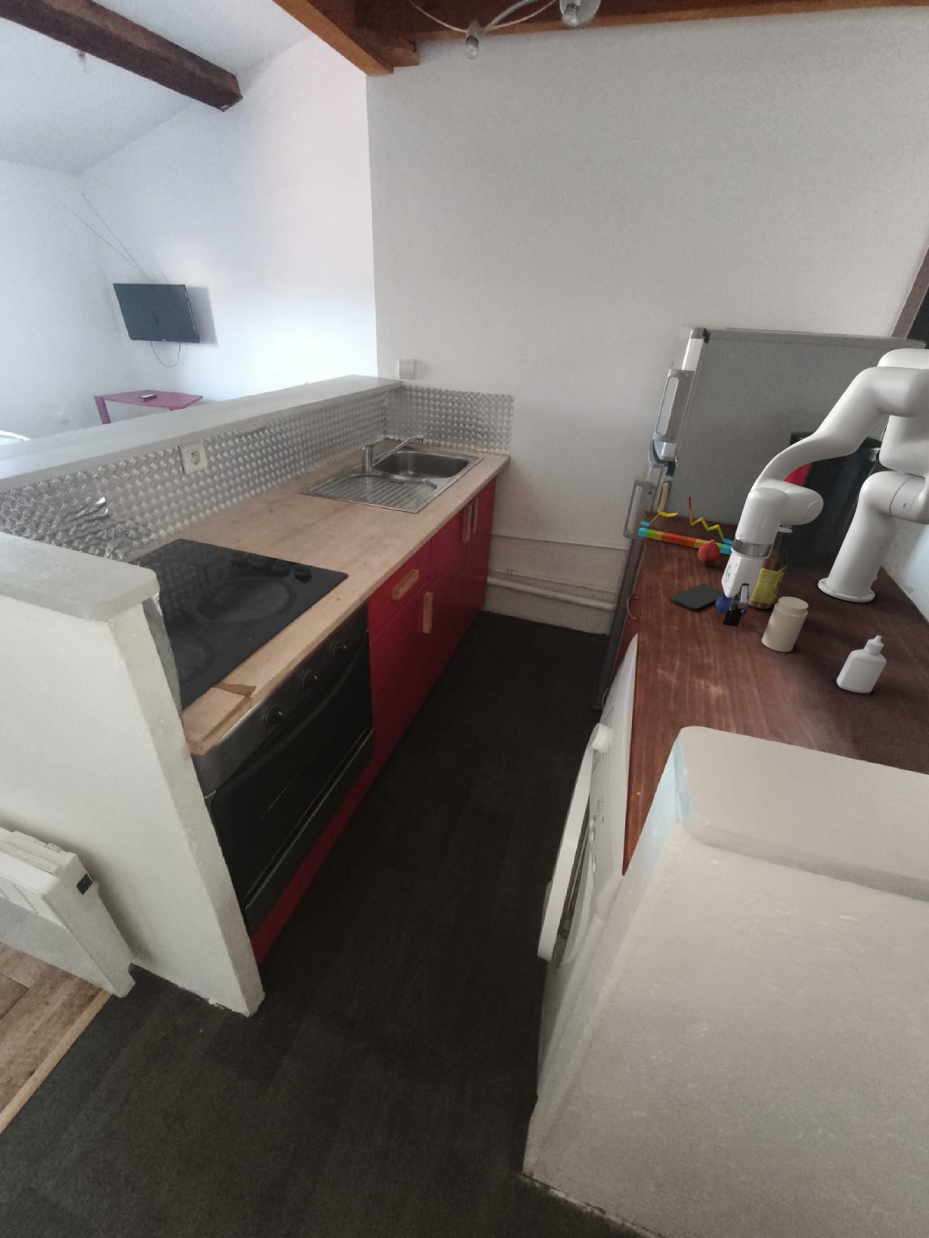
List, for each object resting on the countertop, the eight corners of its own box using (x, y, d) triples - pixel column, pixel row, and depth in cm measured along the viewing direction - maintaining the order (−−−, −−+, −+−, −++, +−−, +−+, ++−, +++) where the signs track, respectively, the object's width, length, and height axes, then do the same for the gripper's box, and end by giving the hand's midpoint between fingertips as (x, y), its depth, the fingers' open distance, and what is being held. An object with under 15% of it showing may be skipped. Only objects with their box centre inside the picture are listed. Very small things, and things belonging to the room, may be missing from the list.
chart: (738, 552, 158) (753, 505, 151) (737, 556, 156) (752, 508, 148) (640, 532, 171) (649, 488, 164) (637, 535, 169) (646, 491, 161)
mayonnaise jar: (772, 634, 117) (788, 593, 112) (798, 647, 112) (816, 605, 107) (755, 640, 115) (771, 599, 109) (781, 654, 110) (799, 612, 104)
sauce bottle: (774, 611, 126) (803, 536, 116) (747, 608, 127) (774, 533, 117) (766, 599, 132) (793, 526, 122) (741, 596, 133) (765, 524, 123)
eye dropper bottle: (866, 699, 97) (894, 647, 91) (833, 685, 101) (858, 634, 95) (872, 689, 100) (900, 638, 94) (839, 676, 103) (864, 626, 97)
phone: (729, 593, 132) (696, 609, 124) (728, 596, 133) (695, 612, 125) (703, 583, 137) (669, 597, 129) (702, 585, 138) (669, 600, 130)
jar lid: (728, 618, 115) (731, 611, 114) (708, 604, 120) (710, 597, 119) (753, 615, 117) (755, 607, 116) (731, 601, 122) (733, 594, 121)
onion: (692, 560, 152) (699, 535, 148) (713, 561, 152) (720, 536, 148) (697, 568, 148) (705, 542, 143) (718, 570, 147) (726, 544, 143)
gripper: (727, 530, 118) (706, 598, 128) (739, 559, 104) (714, 633, 113) (762, 534, 117) (739, 603, 126) (779, 564, 102) (751, 639, 111)
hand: (727, 616), depth 119 cm, fingers closed on jar lid, 6 cm apart
